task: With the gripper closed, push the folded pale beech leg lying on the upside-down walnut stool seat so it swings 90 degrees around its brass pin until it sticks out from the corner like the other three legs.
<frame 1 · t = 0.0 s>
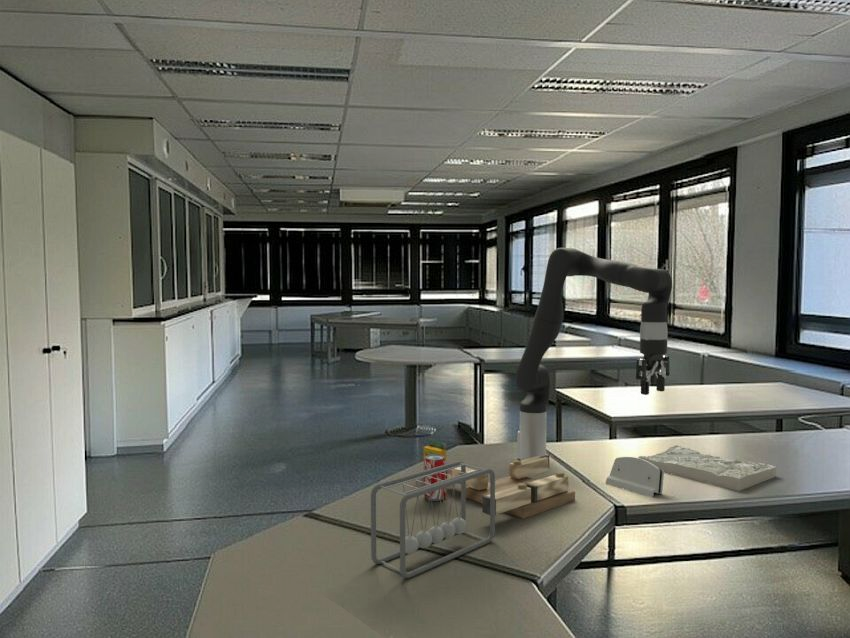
hand: (652, 392, 183), 29 cm above the table, tool pointing down, fingers open, 8 cm apart
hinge: (635, 488, 189), on the table
newton's cradle: (435, 553, 143), on the table
topographic model: (704, 472, 206), on the table
crayon box: (434, 479, 198), on the table
soda can: (435, 498, 180), on the table
stool seat: (519, 498, 179), on the table
stool leg: (546, 485, 174), point 5 cm above the table, hinge at -90.0°
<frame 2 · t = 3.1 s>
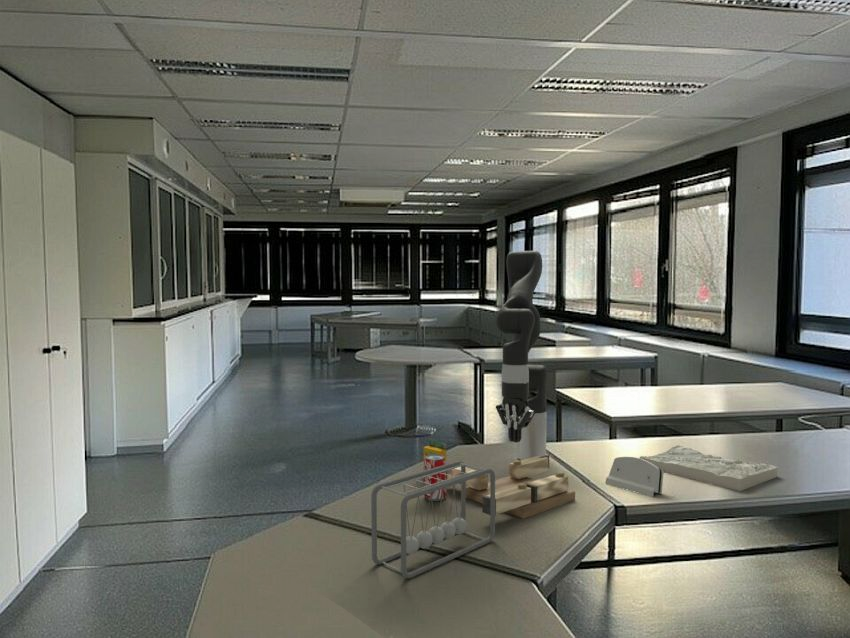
hand: (514, 441, 176), 17 cm above the table, tool pointing down, fingers closed
nothing on the table moved.
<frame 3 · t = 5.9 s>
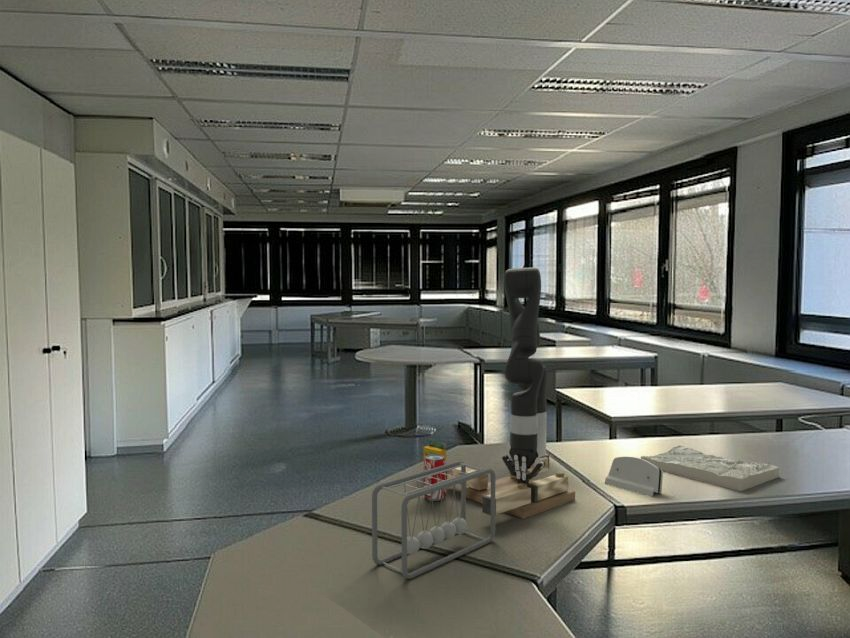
hand: (523, 492, 174), 3 cm above the table, tool pointing down, fingers closed
stool leg: (546, 486, 174), point 5 cm above the table, hinge at -89.5°, touching gripper
everything else where it was.
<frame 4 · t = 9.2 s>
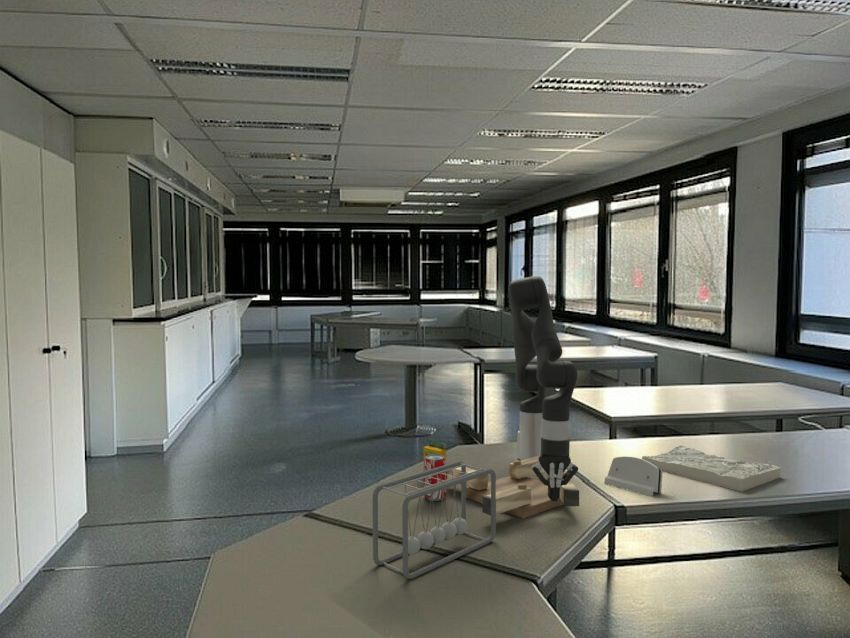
hand: (553, 500, 167), 4 cm above the table, tool pointing down, fingers closed
stool leg: (565, 488, 172), point 5 cm above the table, hinge at -38.3°, touching gripper
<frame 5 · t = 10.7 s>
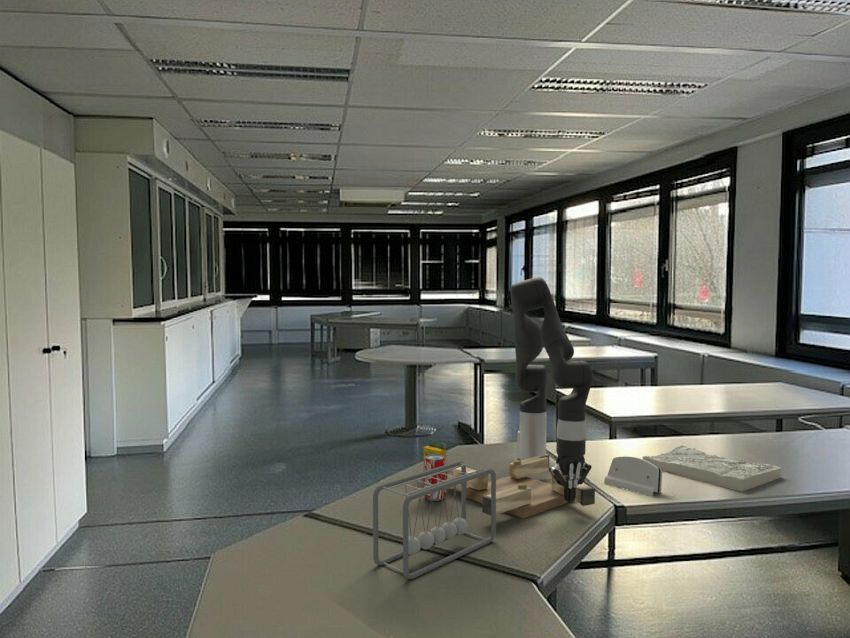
hand: (569, 501, 167), 4 cm above the table, tool pointing down, fingers closed
stool leg: (572, 487, 173), point 5 cm above the table, hinge at -17.1°, touching gripper
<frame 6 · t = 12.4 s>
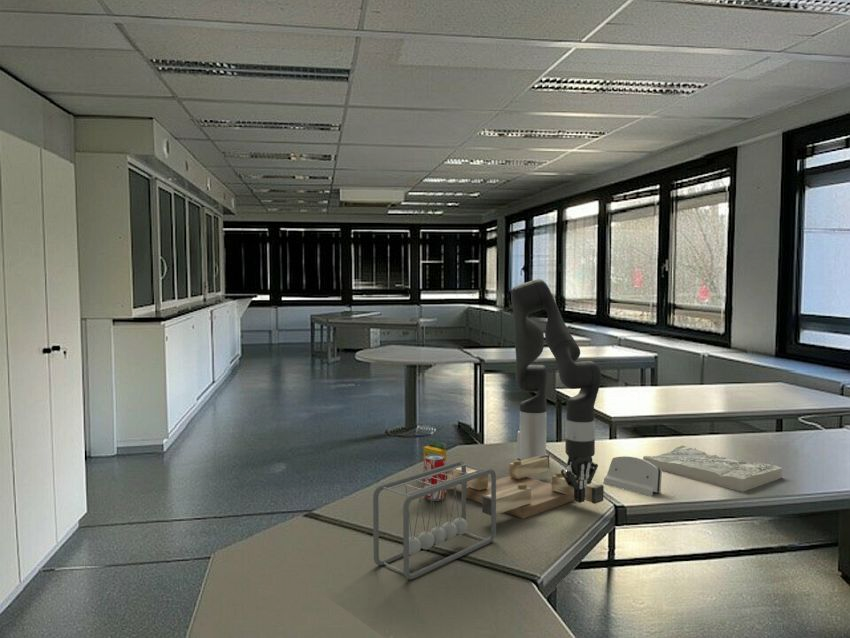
hand: (579, 501, 166), 3 cm above the table, tool pointing down, fingers closed
stool leg: (576, 486, 173), point 5 cm above the table, hinge at -0.4°
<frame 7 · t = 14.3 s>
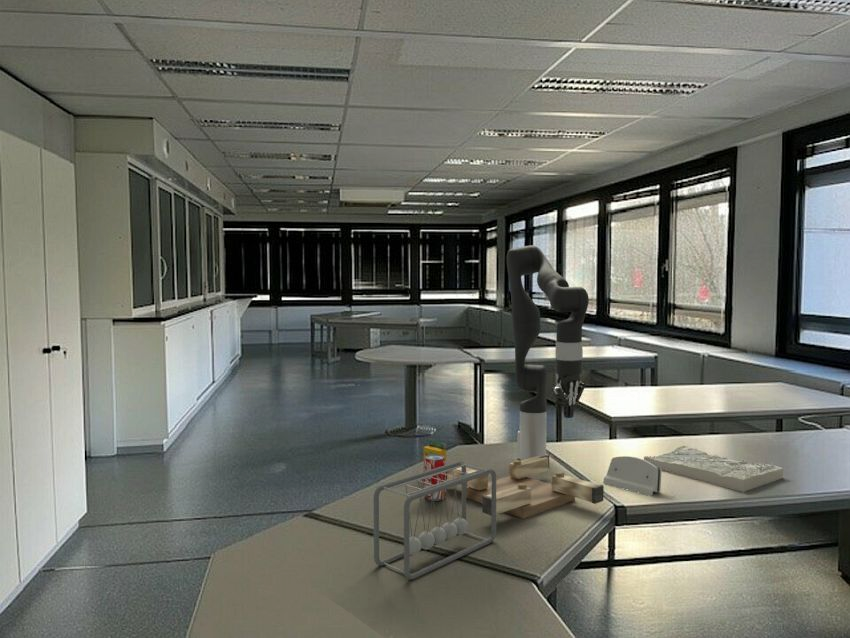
hand: (568, 417, 180), 23 cm above the table, tool pointing down, fingers closed
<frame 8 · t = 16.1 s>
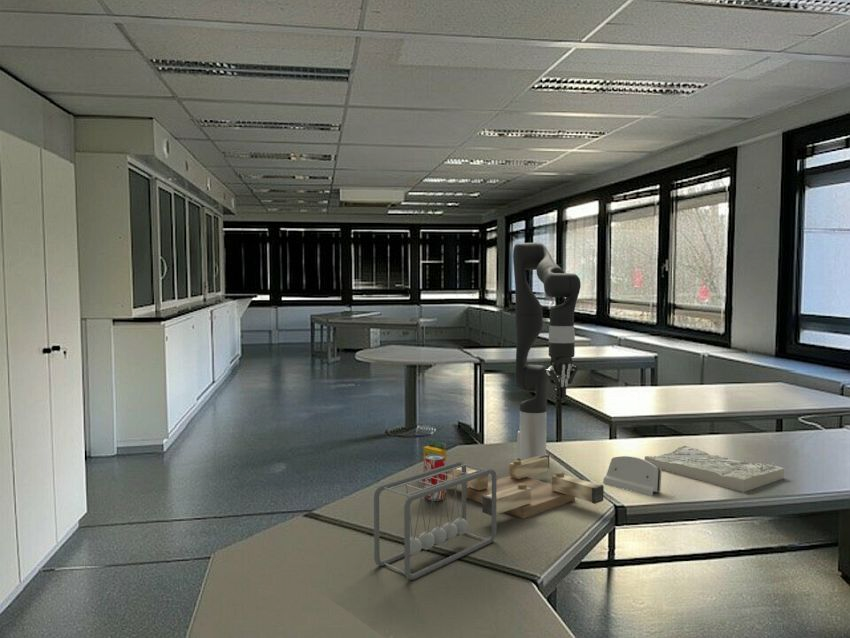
hand: (561, 399, 186), 27 cm above the table, tool pointing down, fingers closed
at the end: stool leg at +0° (first picture: -90°) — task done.
